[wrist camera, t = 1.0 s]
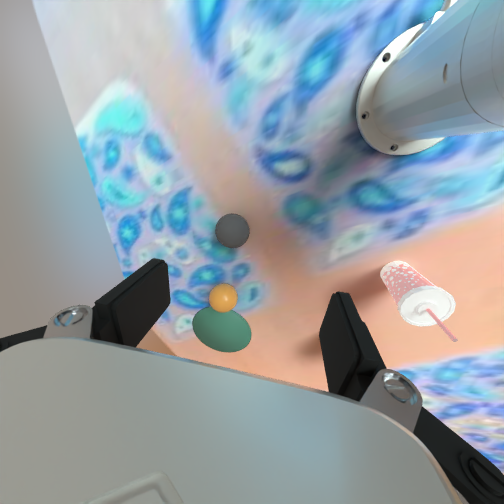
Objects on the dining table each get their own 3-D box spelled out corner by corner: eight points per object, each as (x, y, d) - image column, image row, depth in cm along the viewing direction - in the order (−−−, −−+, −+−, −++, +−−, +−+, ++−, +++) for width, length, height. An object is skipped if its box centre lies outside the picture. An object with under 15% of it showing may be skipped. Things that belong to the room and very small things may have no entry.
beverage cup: (367, 279, 36) (408, 346, 23) (390, 250, 33) (452, 309, 20) (399, 292, 36) (457, 366, 23) (425, 265, 33) (507, 333, 20)
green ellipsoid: (194, 299, 45) (193, 300, 44) (256, 315, 44) (256, 316, 43) (191, 342, 51) (191, 343, 51) (246, 357, 50) (245, 358, 50)
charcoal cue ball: (223, 207, 34) (211, 215, 30) (254, 214, 34) (248, 224, 29) (219, 236, 37) (209, 249, 32) (249, 243, 37) (242, 257, 32)
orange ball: (215, 275, 41) (205, 291, 36) (242, 281, 40) (235, 299, 35) (213, 296, 43) (203, 314, 38) (238, 302, 43) (231, 321, 38)
